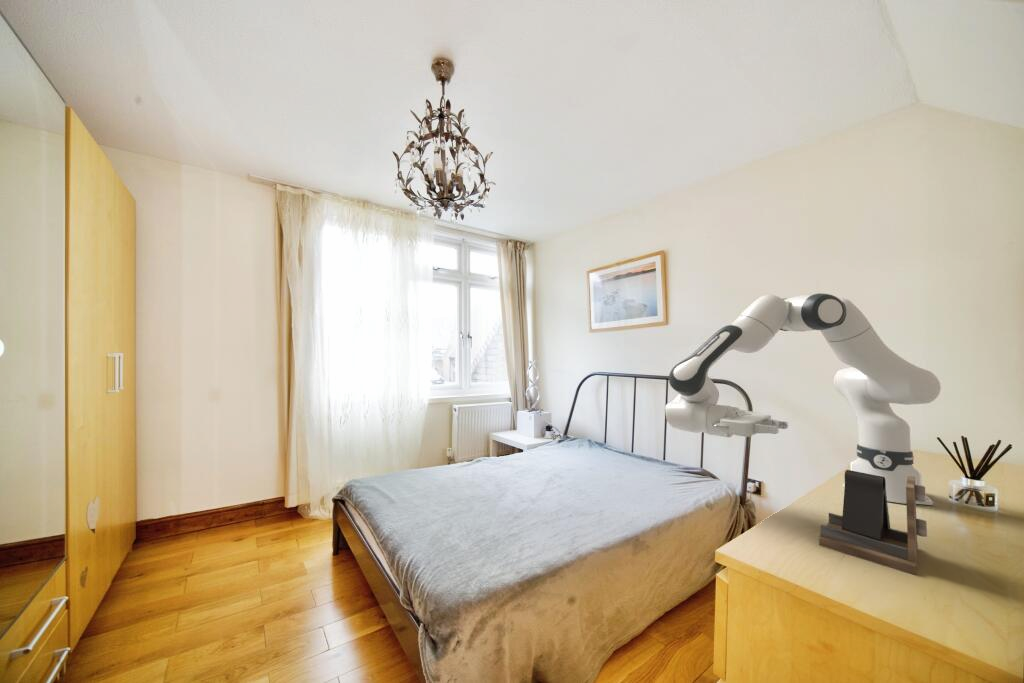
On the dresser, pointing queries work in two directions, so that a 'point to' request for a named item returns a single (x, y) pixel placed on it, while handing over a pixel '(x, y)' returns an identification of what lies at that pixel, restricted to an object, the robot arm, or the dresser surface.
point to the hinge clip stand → (893, 547)
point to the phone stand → (865, 505)
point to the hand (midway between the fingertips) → (782, 427)
